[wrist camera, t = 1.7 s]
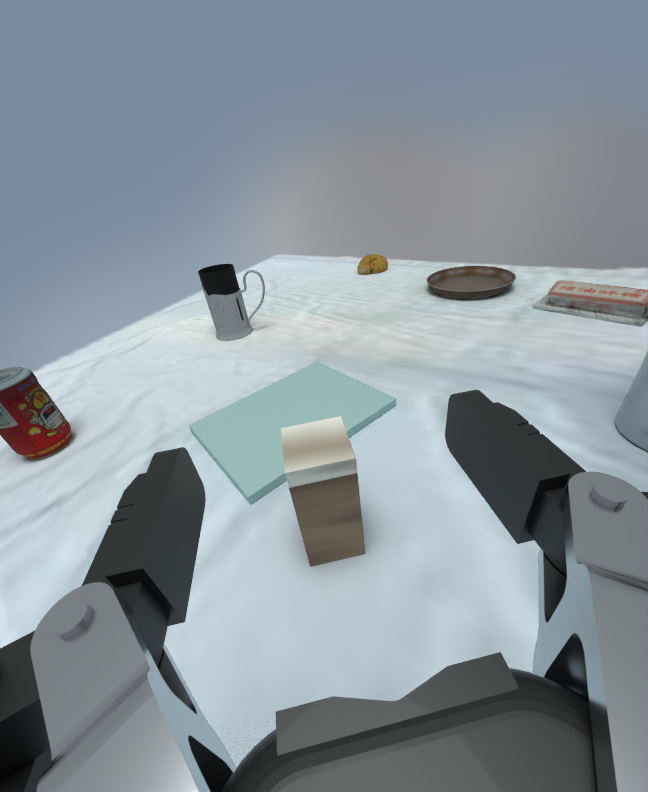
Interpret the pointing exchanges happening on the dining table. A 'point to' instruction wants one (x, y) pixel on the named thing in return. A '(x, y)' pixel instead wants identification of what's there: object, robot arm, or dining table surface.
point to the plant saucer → (470, 282)
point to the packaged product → (597, 302)
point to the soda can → (30, 416)
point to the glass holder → (227, 301)
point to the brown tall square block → (324, 489)
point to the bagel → (372, 264)
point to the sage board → (283, 423)
